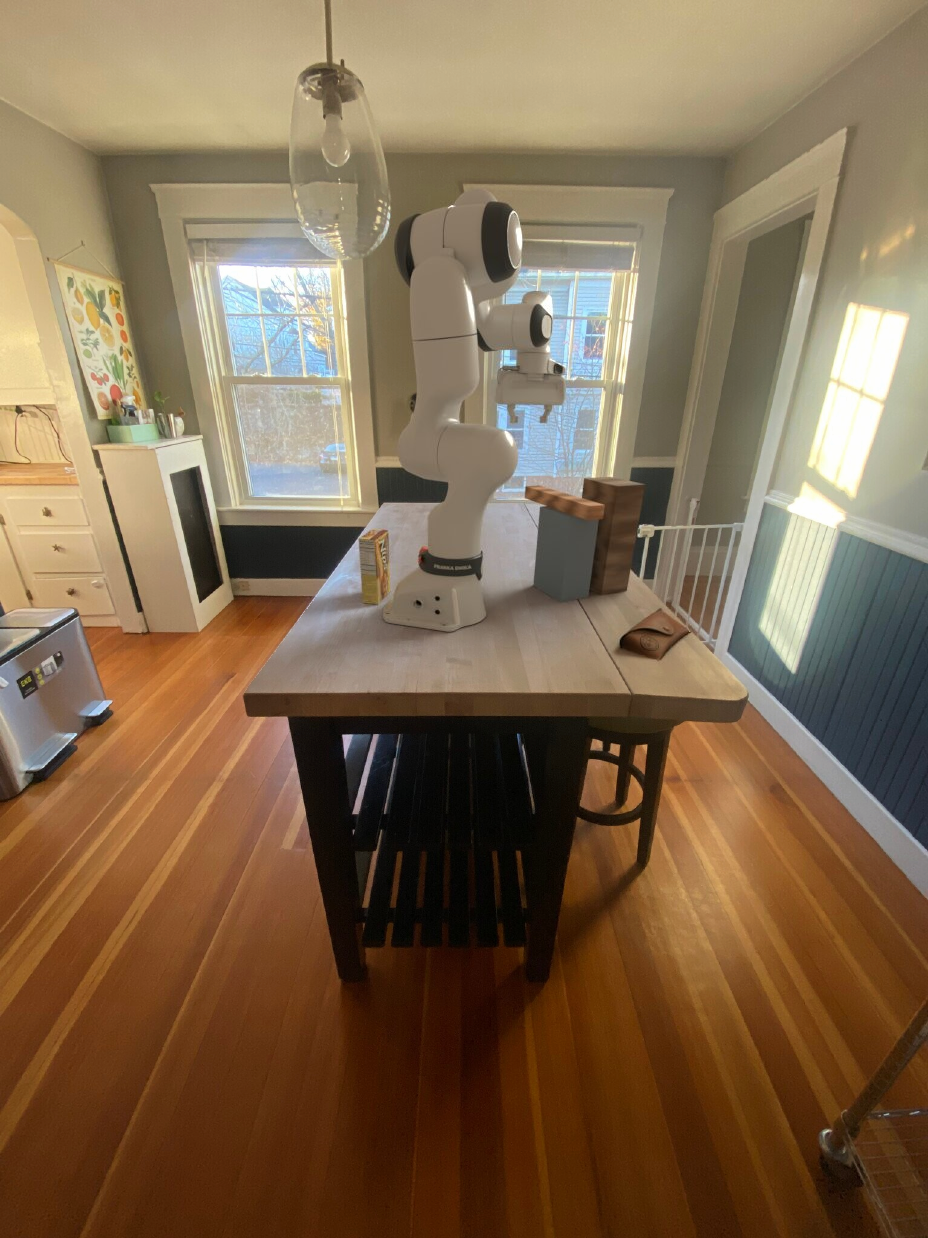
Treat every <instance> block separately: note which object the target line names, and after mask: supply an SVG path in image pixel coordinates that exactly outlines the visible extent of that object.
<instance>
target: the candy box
mask: <svg viewBox="0 0 928 1238" xmlns="http://www.w3.org/2000/svg"><path fill="white" fill-rule="evenodd" d="M358 551H359V567H360V580H361V582H360V583H361V595H362V596H361V599H362V604H368V605H369V604H370V605H379V604H380V603H381V602H382V601H383V600H384V599H385V598H386V597H387V595H389V593H390V592H391V571H390V569H391V568H390V542H389V530H388V529H381V528H380V529H379V528H371V530H369V531H367V532H366V533H365V534H363V535H362V536H361V537H359V538H358Z"/></svg>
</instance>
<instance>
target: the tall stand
mask: <svg viewBox="0 0 928 1238" xmlns="http://www.w3.org/2000/svg"><path fill="white" fill-rule="evenodd" d="M582 485H583V486H582V492H581V498H583V499H586V500H590V501H593V502H596V503H600V504H603V505H605V508H604V515H603V519H599V522H598V529H597V537H596V544H595V551H594V559H593V566H592V573H591V581H590V588H589V590H591V591H593V592H595V593H597V594H599V595H601V596H605V595H608V594H609V595H610V594H615V593H621V592H627V591H628V588H629V587H628V586H629V583H630V582H629V581H630V575H631V570H632V563H633V559H634V552H635V547H636V541H637V536H638V535H637V534H638V528H639V523H640V518H641V517H640V516H641V511H642V506H643V500H644V499H643V498H644V495H645V494H644V493H645V488H646V484H645V483H640V482H635V481H631V480H626V479H624V478H623V479H622V478H617V477H612V476H602V477H584V478H583V484H582Z"/></svg>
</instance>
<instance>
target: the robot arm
mask: <svg viewBox="0 0 928 1238" xmlns="http://www.w3.org/2000/svg"><path fill="white" fill-rule="evenodd" d="M393 247H394V248H393V249H394V258H395V263H396V267H397V269H398V271H399V274H400V276H401V278H402V279H403V281H404V283H405V284H406V285H407V286H408V287H409V288H410V289H409V312H410V313H409V315H410V316H409V317H410V331H411V340H412V346H413V348H412V349H413V357H414V358H413V359H414V367H415V376H416V377H415V378H416V396H415V397H416V398H415V404H414V405H415V406H414V409H413V414H412V417H411V419H410V421H409V423H408V425H407V426H406V427H404V429H403V430H402V432H401V433H400V436H399V438H398V441H397V449H396V450H397V457H398V460H399V463H400V465H401V467H402V468H403V469H404V470H405V471H406V472H408V473H410V474H412V475H414V476H417V477H419V478H422V479H424V480H428V481H435V482H444V483H448V486H447V487H448V488H447V493H446V495H445V498H444V501H442V502H439V503H438V504H437V505H435V506H434V507H433V508H432V509H431V510H430V511H429V513H428V515H427V546H425V545H424V546H421V548H420V550H419V552H418V553H419V554H418V557H417V558H418V559H417V561H418V567H416V569H414V570H412V572H410V573H409V574H407V575H406V576H403V578H402V579H400V581H399V582H398V583H397V585H396V586H395V589H394V593H393V597H392V598H390V600H389V601H388V602H386V604H385V605H384V608H383V610H382V619H383V620H384V622H385V623H388V624H395V625H400V626H401V625H402V626H408V627H414V628H420V629H428V630H436V631H440V632H448V633H450V632H454V631H457V630H459V629H461V628H463V627H467V626H470V625H471V626H472V625H474V624H477V623H479V622H481V621H483V620H484V619H485V618H486V616H487V610H486V607H485V602H484V597H483V589H482V588H483V587H482V578H483V575H484V574H483V573H484V553H483V551H482V540H483V538H482V536H483V526H484V525H483V524H484V517H485V513H486V511H487V510H486V509H487V507H488V504H489V503H490V500H491V498H492V497H493V495H494V494H495V493H496V491H498V490H499V489H500V488H501V487H503V486H504V485H505V484H506V483H507V482H509V480H511V478H512V477H513V475H514V473H515V471H516V469H517V467H518V466H517V465H518V462H519V449H518V444H517V443H516V440H515V438H514V436H513V435H512V433H511V432H509V431H508V430H504V429H503V428H502V429H501V428H498V427H496V426H492V425H489V424H482V423H467V422H466V423H465V422H464V423H463V422H460V412H461V407H462V404H463V401H464V400H466V399H468V398H469V397H471V396H472V394H474V392H475V391H476V389H477V388H478V386H479V383H480V378H481V377H480V363H479V361H480V360H479V349H480V350H481V351H482V352H484V353H488V352H496V351H516V357H515V358H516V361H515V365H503V366H502V367H499V369H498V371H497V373H496V379H497V382H496V387H495V396H494V401H495V403H496V405H506V410H507V413H508V415H509V416H510V419H509V423H510V424H518V423H519V416H516V413H515V409H516V407H517V406H521V405H522V406H543V410H544V412H543V414H542V415H539V423H540V424H547V423H548V418H549V417H550V414H551V412H552V411H553V406H563V404H564V402H565V400H566V390H567V387H566V385H567V383H566V379H565V376H563V375H565V374H566V373H567V368H566V366H565V365H564V364H563V363H559V362H557V361H556V360H554V359H552V358H551V354H552V353H551V339H552V337H553V329H554V306H553V305H554V304H553V297H552V296H551V295H550V294H549V293H547V292H544V291H541V290H540V291H539V290H534V291H533V290H532V291H529V292H526V293H525V294H523V296H522V298H521V303H510V304H509V303H508V304H493V303H492V304H491V303H489V302H488V301H489V300H494V299H498V298H500V297H502V296H504V294H506V293H508V292H509V290H511V288H512V287H513V286H514V285H515V283H516V281H517V280H518V277H519V274H520V272H521V267H522V251H523V232H522V227H521V223H520V218H519V215H518V213H517V211H516V210H515V209H514V208H513V207H512V206H511V205H510V204H508V203H506V202H502V201H498V200H497V198H496V197H495V195H494V194H493V193H492V192H490V191H489V190H487V188H486V189H485V188H483V187H473V188H469V189H467V190H465V191H463V192H462V193H461V194H460V195H459V196H458V197H457V199H455V202H454V203H453V205H448V206H443V207H439V208H436V209H433V210H430V211H427V212H425V213H423V214H421V213H414V214H413V215H411V216H409V217H407V218H405V219H404V220H403V221H401V222H400V223H399V225H398V228H397V230H396V233H395V237H394V244H393Z"/></svg>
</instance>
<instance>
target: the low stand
mask: <svg viewBox="0 0 928 1238" xmlns="http://www.w3.org/2000/svg"><path fill="white" fill-rule="evenodd" d="M538 513H539V515H538V516H539V517H538V524H537V540H536V548H535V550H536V551H535V563H534V572H533V574H534V575H533V586H534V587H535V588H537V589H539V590H540V591H542V592H544V593H545V594H547V595H548V596H550V597H551V598H553V599H555V600H556V601H558V602H559V603H563V602H570V601H571V602H572V601H575V600H581V599H587V598H589V596H590V595H589V594H590V589H589V588H590V581H591V573H592V566H593V559H594V551H595V544H596V537H597V529H598V522H599V519H598V520H585V519H582V518H580V517H577V516H574V515H571V514H568V513H565V512H562V511H560V510H557V509H554V508H551V507H548V506H545V505H543V506H540V507H539V511H538Z"/></svg>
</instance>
